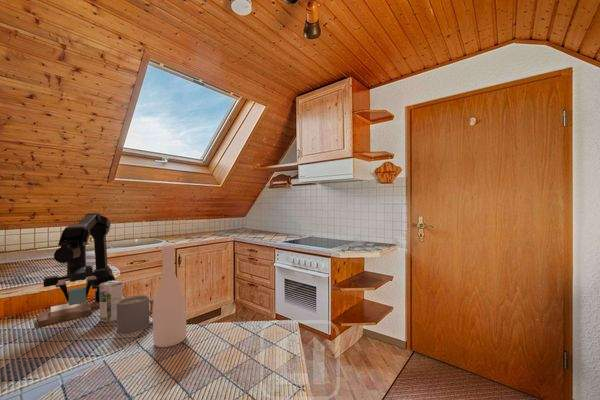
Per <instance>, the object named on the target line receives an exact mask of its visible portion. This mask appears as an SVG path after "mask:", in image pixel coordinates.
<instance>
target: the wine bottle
mask: <svg viewBox="0 0 600 400" xmlns="http://www.w3.org/2000/svg"><path fill="white" fill-rule="evenodd" d="M161 247H162V248H161V254H162V272H161V277H160V280H159V284H158V286H157V290H156V293H155V295H154V298H153V299H154V302H153V307H152V309H153V313H152V338H153V340H152V341H153V345H154V346H156V347H158V348H169V347H173V346H176V345H179V344H181V343H182V342H184V340H185V339H186V337H187V333H188V331H187V300H186V297H185V295H184V293H183V289H182V286H181V284H180V283H179V280H178V278H177V275H176V271H175V258H174V257H175V256H174V253H175V247H174V245H172V244H171V245H170V244H169V245H163V246H161Z"/></svg>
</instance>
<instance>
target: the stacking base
mask: <svg viewBox="0 0 600 400" xmlns="http://www.w3.org/2000/svg"><path fill="white" fill-rule="evenodd" d="M92 314H93V313H92V307H91V305H90V304H89V302H84V303H79V304H75V305H70V306H69V304H68V302H67V303H64V304H57V305H52V306H50V310H47V311H43V312H39V313H38V323H37V324H38V328H39V327H44V326H49V325H52V324H56V323H61V322H64V321H65V320H66V321H70V320H74V319H78V318H82V317H86V316H91V315H92Z"/></svg>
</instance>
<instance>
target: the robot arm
mask: <svg viewBox="0 0 600 400" xmlns="http://www.w3.org/2000/svg"><path fill="white" fill-rule="evenodd" d="M110 228H111V221H110V220H109V218H108V217H106V216H103V215H102V214H101V213H99V212H91V213H90V212H88V213H85V215H84V217H83V218H82V219H80V220H79V221H78V222H76V223H75V224H70V225H68V226H66V227H65V228H64V229H63V230H62V232H61V235H60V238H59V241H58V243H57V246H59V248H57V249H56V251H54V253H53V257H54V258H53V260H55V261H56V262H57V263H59V264H66V275H64V276H59V275H57V274H56V275H50V276H45V277H44V278H43V288H46V287H55V288H60V290H61V291H62V293H63V295H64V298H65V299H66V302H67V303H68V301H69V296H68V287H67V283H66V282H71V283H74V282H76V281H77V282H78V281H84V280H86V282H85V288H86V299H87V298H88V296H89V292H90V290H91V289H92V290H95V291H94V301H95V302H96V303H100V284H101V283H104V282H107V281H117V280H116V276H115V275H114V274H113V269H112V268H110V266H109V265H108V263H109V262H108V252H107V235H108V234H109V232H110ZM90 236H91V237H92V238H93V245H94V246H93V247H94V260H95V261H94V262H95V268H94V269H93V265H92V264H90V265H87V252H86V251H87V248H86V246H87V242H88V241H89V238H90Z"/></svg>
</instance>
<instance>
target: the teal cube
mask: <svg viewBox="0 0 600 400" xmlns="http://www.w3.org/2000/svg"><path fill="white" fill-rule="evenodd" d="M67 291H68V296H69V301H68V302H67V303H68V304H69V306H70V305H75V304H84V303H87V298H86V286H81V287H75V288H69V289H67Z"/></svg>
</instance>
